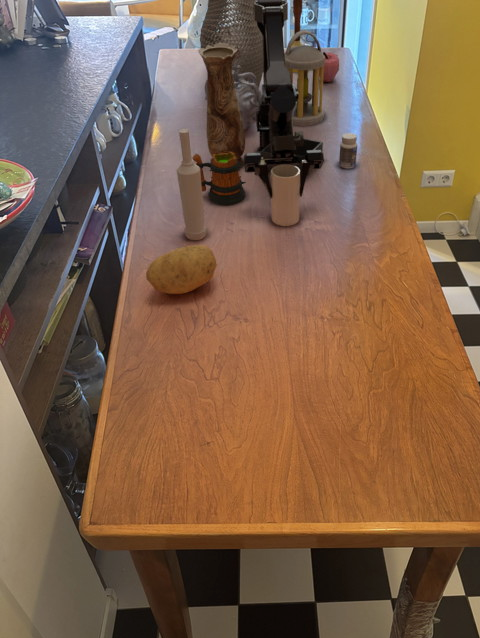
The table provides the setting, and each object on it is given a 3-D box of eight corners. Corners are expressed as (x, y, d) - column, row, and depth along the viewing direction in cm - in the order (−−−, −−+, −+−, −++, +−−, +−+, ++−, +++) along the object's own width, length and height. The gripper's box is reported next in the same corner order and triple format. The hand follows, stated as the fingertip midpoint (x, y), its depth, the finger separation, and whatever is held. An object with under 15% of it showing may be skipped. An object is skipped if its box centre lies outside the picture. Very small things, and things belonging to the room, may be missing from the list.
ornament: (199, 137, 184) (192, 69, 170) (226, 113, 197) (221, 48, 184) (252, 145, 179) (250, 76, 166) (276, 120, 193) (276, 54, 179)
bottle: (210, 231, 145) (200, 127, 128) (201, 242, 142) (189, 137, 124) (190, 227, 146) (178, 124, 129) (181, 238, 143) (167, 133, 125)
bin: (260, 170, 168) (260, 151, 164) (281, 152, 176) (281, 133, 172) (303, 180, 164) (303, 160, 160) (322, 160, 172) (323, 141, 168)
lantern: (314, 106, 201) (317, 22, 184) (330, 122, 192) (335, 35, 174) (274, 111, 198) (273, 26, 181) (288, 128, 188) (289, 40, 171)
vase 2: (253, 163, 171) (249, 48, 150) (226, 176, 165) (217, 58, 144) (228, 152, 176) (220, 39, 155) (201, 164, 171) (189, 49, 150)
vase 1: (281, 92, 211) (281, -26, 186) (245, 113, 197) (239, -11, 173) (229, 80, 219) (223, -34, 195) (191, 99, 206) (179, -21, 181)
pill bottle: (354, 169, 168) (357, 140, 162) (337, 168, 169) (339, 138, 163) (356, 162, 171) (359, 132, 165) (340, 160, 172) (342, 131, 166)
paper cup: (266, 222, 148) (265, 174, 139) (279, 209, 152) (278, 162, 144) (291, 228, 146) (292, 180, 137) (303, 215, 150) (304, 167, 141)
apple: (338, 85, 215) (340, 55, 208) (314, 85, 215) (315, 55, 208) (337, 76, 222) (339, 46, 215) (313, 76, 222) (314, 46, 215)
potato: (219, 299, 126) (216, 260, 119) (149, 304, 125) (142, 265, 118) (217, 271, 133) (214, 233, 126) (151, 276, 132) (144, 238, 125)
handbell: (302, 74, 223) (303, -4, 206) (274, 68, 228) (273, -8, 211) (318, 65, 231) (321, -11, 213) (291, 59, 235) (292, -15, 218)
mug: (246, 186, 161) (244, 144, 153) (246, 205, 154) (244, 162, 146) (197, 187, 161) (192, 145, 153) (195, 206, 153) (190, 163, 145)
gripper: (242, 119, 135) (247, 188, 135) (324, 115, 136) (329, 184, 136) (242, 139, 146) (246, 202, 146) (318, 135, 147) (323, 199, 147)
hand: (285, 197), depth 143 cm, fingers closed on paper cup, 7 cm apart
